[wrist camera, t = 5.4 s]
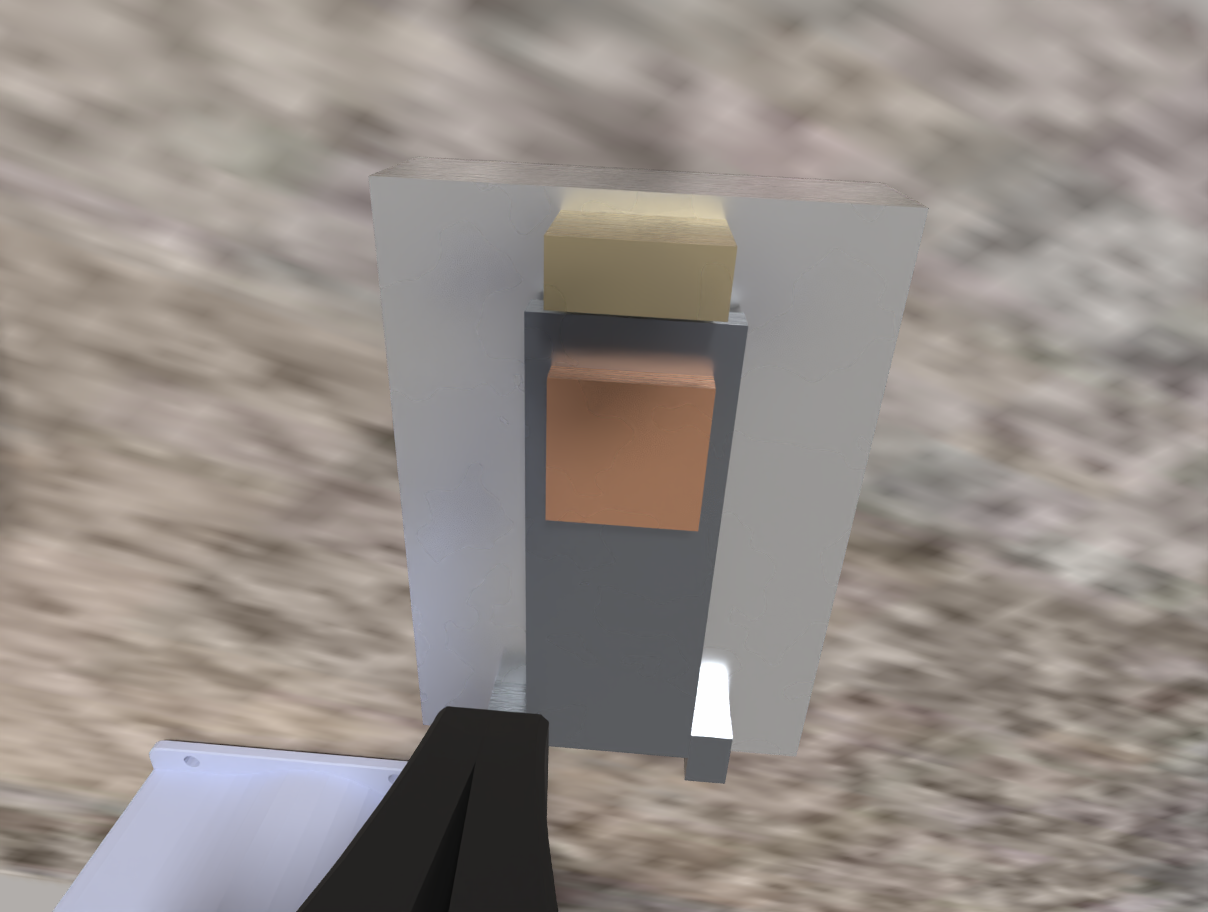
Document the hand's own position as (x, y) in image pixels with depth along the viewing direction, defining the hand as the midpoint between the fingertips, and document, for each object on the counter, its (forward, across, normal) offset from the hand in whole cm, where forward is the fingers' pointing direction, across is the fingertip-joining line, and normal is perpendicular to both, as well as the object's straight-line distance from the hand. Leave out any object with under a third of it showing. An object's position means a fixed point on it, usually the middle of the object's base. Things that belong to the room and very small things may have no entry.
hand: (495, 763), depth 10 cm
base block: (+10, -1, +1) cm, 10 cm away
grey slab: (+7, -1, +1) cm, 7 cm away
